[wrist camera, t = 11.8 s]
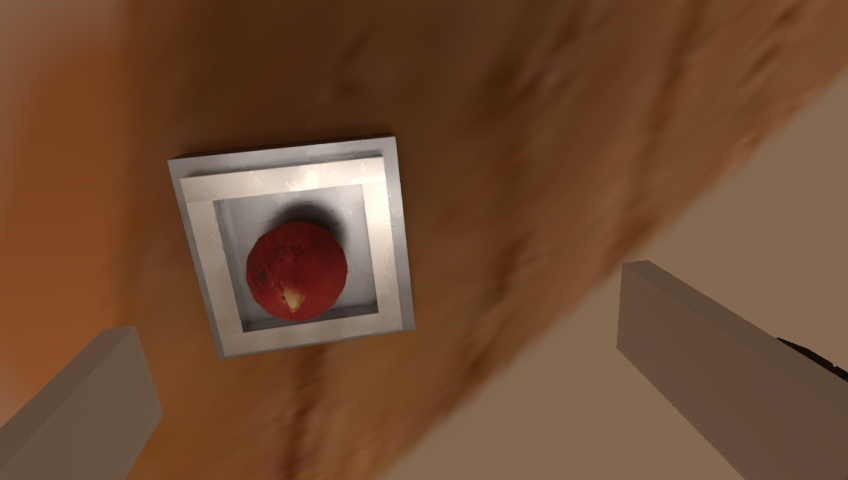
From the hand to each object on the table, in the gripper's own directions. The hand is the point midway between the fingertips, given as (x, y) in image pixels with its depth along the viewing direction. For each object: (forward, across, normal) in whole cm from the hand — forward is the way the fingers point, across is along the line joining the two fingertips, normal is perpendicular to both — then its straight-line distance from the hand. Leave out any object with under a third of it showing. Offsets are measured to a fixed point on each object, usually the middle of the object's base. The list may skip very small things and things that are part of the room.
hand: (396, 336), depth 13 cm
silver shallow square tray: (+22, -5, -4) cm, 23 cm away
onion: (+19, -5, -4) cm, 20 cm away
